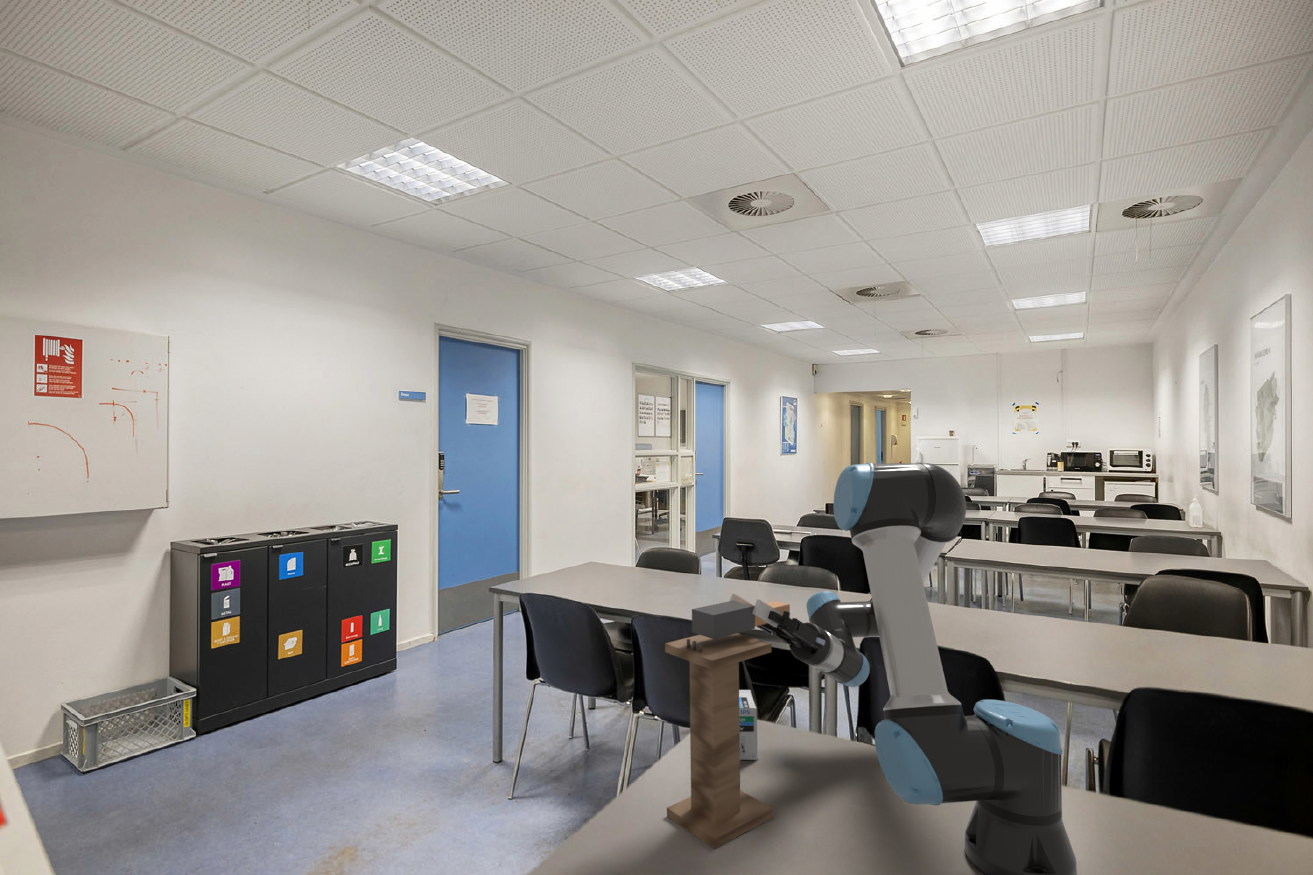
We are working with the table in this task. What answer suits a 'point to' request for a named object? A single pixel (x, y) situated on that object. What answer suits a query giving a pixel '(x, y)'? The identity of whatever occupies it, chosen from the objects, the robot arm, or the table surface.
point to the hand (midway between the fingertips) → (743, 603)
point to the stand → (716, 740)
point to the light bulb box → (747, 726)
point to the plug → (729, 618)
